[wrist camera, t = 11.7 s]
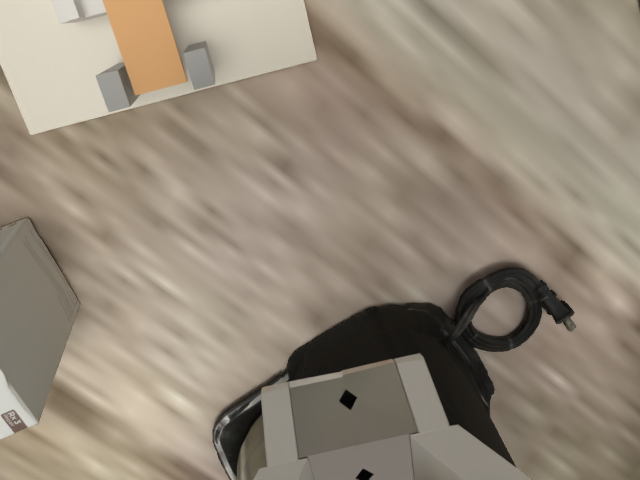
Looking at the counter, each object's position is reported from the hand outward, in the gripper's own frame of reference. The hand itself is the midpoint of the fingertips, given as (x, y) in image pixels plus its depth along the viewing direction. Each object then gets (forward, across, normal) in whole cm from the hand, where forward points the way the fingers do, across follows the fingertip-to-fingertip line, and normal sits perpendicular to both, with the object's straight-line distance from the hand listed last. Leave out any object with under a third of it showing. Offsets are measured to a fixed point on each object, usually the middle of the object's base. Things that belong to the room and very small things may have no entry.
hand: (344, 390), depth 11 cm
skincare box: (+31, +21, +18) cm, 41 cm away
